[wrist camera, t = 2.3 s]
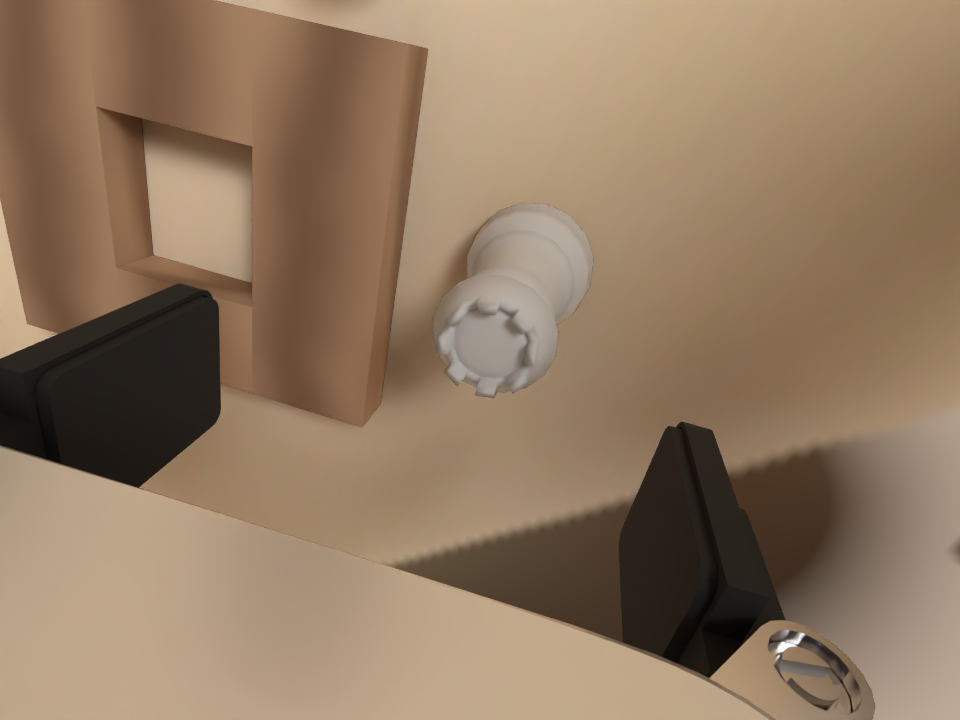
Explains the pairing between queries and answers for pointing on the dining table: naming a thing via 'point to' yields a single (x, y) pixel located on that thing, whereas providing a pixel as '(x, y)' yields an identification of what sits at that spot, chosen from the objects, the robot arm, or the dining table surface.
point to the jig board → (275, 178)
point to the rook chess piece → (513, 299)
